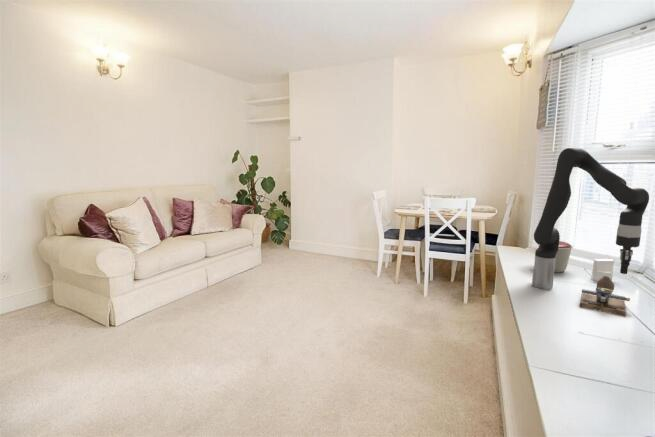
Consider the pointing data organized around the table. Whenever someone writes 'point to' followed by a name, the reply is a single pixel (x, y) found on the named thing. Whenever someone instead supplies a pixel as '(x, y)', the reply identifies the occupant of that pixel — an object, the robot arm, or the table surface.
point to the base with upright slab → (602, 269)
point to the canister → (562, 256)
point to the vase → (605, 283)
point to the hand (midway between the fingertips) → (623, 273)
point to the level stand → (603, 304)
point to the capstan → (604, 295)
